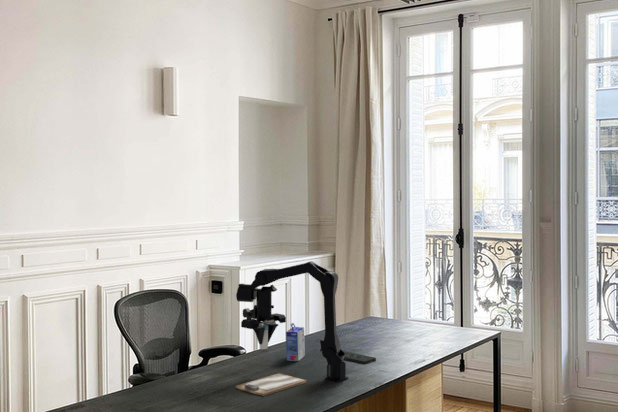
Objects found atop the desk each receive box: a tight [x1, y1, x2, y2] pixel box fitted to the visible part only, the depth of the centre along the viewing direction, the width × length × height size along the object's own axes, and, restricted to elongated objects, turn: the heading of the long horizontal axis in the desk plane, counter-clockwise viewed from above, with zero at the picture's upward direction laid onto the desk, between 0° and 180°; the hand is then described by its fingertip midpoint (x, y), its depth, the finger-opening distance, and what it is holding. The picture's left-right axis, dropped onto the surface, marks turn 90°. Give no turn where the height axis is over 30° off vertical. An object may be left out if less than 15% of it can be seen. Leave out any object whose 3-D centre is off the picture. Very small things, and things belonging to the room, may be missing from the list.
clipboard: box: [235, 373, 307, 397], centre depth 248 cm, size 14×22×2 cm, turn 138°
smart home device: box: [342, 350, 377, 365], centre depth 288 cm, size 8×2×20 cm
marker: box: [259, 324, 269, 353], centre depth 263 cm, size 3×3×10 cm
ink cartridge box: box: [285, 322, 306, 362], centre depth 287 cm, size 10×6×14 cm, turn 164°
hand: (263, 343), depth 263 cm, fingers closed on marker, 3 cm apart
